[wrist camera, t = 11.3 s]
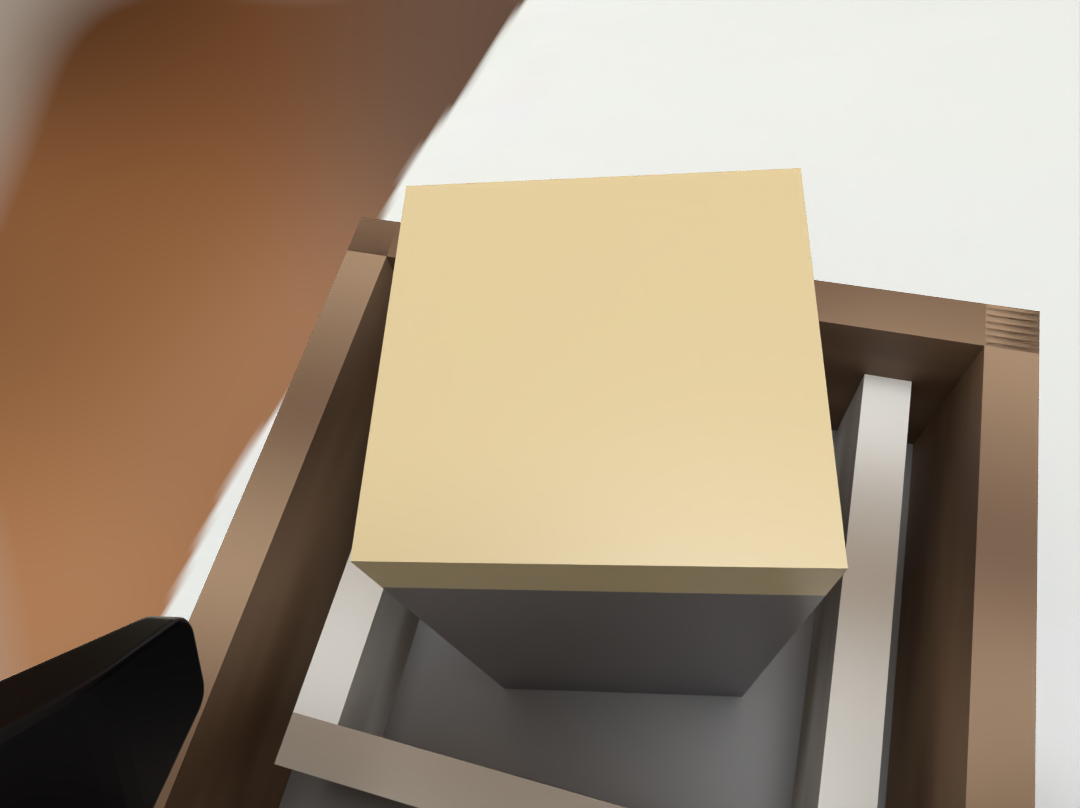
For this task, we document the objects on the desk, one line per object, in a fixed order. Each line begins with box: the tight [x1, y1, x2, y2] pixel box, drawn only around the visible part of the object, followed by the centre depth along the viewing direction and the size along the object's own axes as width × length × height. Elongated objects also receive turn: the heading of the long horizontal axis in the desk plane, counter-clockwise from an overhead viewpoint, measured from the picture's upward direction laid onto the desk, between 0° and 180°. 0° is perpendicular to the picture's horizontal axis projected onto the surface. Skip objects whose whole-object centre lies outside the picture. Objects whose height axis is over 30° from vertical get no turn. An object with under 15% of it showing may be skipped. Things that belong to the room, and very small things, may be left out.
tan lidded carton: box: [350, 168, 848, 697], centre depth 12 cm, size 4×4×9 cm
